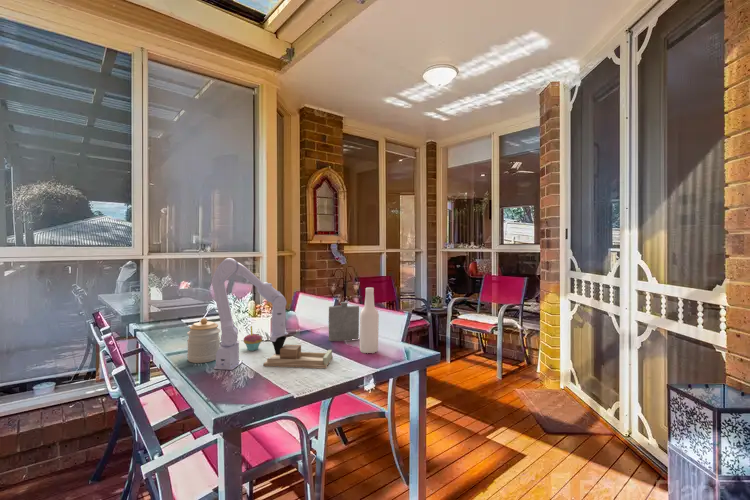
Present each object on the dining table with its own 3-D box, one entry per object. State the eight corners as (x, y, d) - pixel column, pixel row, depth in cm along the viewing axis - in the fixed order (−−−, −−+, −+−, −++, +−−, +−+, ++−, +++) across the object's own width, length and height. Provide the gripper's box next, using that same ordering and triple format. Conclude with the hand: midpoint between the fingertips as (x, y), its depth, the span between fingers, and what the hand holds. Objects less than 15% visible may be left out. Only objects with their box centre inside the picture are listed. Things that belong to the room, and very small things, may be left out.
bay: (325, 368, 149) (325, 358, 149) (263, 365, 151) (263, 356, 151) (332, 357, 163) (332, 348, 163) (275, 355, 165) (275, 346, 165)
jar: (207, 364, 152) (207, 322, 152) (180, 362, 155) (180, 320, 154) (226, 355, 165) (226, 316, 164) (200, 353, 167) (200, 314, 167)
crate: (296, 361, 154) (296, 349, 154) (279, 360, 154) (280, 349, 154) (301, 356, 161) (301, 345, 161) (285, 355, 161) (285, 344, 161)
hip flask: (358, 338, 197) (358, 301, 196) (359, 340, 193) (359, 302, 192) (328, 339, 193) (328, 301, 193) (329, 341, 189) (329, 302, 189)
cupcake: (258, 351, 170) (258, 326, 170) (240, 351, 170) (240, 325, 170) (264, 346, 179) (264, 322, 178) (247, 346, 179) (247, 321, 179)
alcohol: (355, 350, 175) (356, 287, 174) (370, 347, 180) (371, 286, 179) (366, 355, 168) (367, 289, 167) (381, 351, 173) (382, 288, 172)
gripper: (282, 326, 150) (282, 359, 150) (293, 319, 165) (292, 349, 165) (265, 326, 151) (265, 359, 151) (277, 318, 165) (277, 348, 165)
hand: (278, 354), depth 158 cm, fingers closed, pressing on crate
